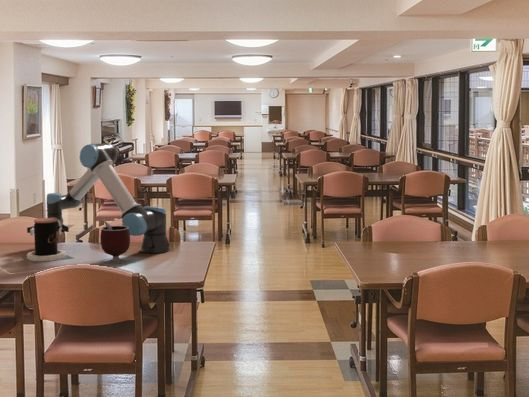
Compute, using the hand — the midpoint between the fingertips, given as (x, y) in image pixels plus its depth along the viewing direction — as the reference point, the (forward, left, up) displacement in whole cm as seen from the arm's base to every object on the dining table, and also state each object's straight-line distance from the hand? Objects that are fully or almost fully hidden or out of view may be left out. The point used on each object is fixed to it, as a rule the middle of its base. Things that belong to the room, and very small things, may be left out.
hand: (45, 232), depth 362 cm
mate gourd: (-31, -22, -13) cm, 40 cm away
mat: (0, 0, -13) cm, 13 cm away
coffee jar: (0, 0, -12) cm, 12 cm away
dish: (0, 0, -12) cm, 13 cm away
